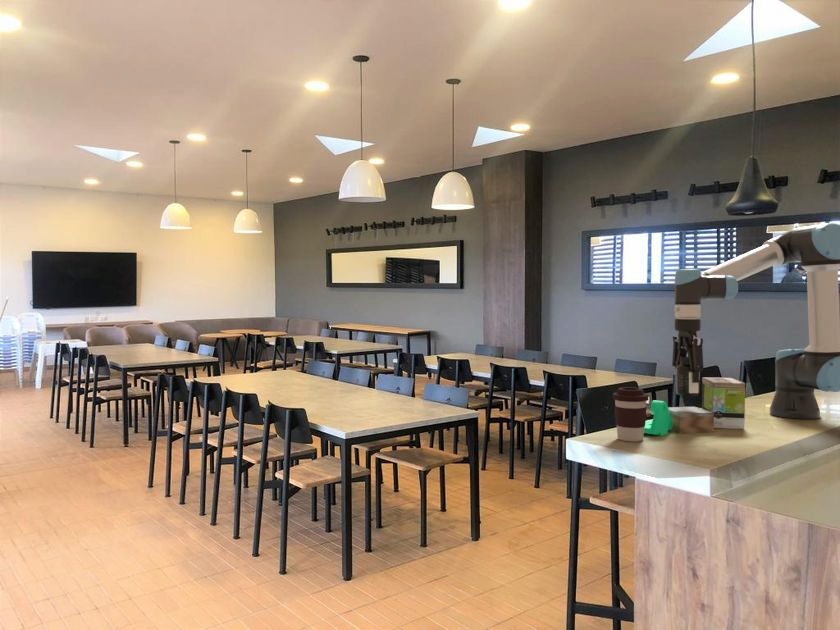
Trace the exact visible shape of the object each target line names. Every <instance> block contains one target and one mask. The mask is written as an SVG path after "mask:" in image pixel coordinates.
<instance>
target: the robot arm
mask: <svg viewBox="0 0 840 630" xmlns="http://www.w3.org/2000/svg"><path fill="white" fill-rule="evenodd" d="M798 262H799V263H800V265H801V269H803V270H804V271H805V272H806V282H807V283H806V285H807V287H806V288H807V290H806V291H807V312H808V313H807V315H808V316H807V317H808V318H807V319H808V342H809V343H808V345H807V346H806V347H805V348H794V349H792V348H791V349H789V348H788V349H779V350H777V352H776V354H775V361H774V362H775V363H774V364H775V366H774V367H775V392H774V395H773V398H772V401H771V403H770V407H769V415H772V416H775V417H780V418H785V419H798V420H812V419H819V418H820V417H821V410H820V408H819V404H818V401H817V399H816V395H815V390H817V391H818V390H819V391H822V392H833V393H840V297H839V296H840V295H839V292H840V291H839V270H840V224H838V223H833V222H831V223H830V222H829V223H827V222H826V223H825V222H824V223H823V222H822V223H818V224H811V225H807V226H798V227H794V228H792V229H789V230H788V231H785V232H783V233H781V234H779V235H777V236H775V237H772V238H770V239H769V240H765V241H763V244H762V246H759V247H757V248H755V249H752V250H750V251H747V252H746V253H743V254H740V255H737V256H736V257H733V258H732V259H729V260H727V261H725V262H722V263H720V264H718V265H716V266H713V267H711V268H709V269H706V270H704V271H701V269H698V268H685V269H683V268H681V269H677V270H676V271H675V275H674V309H673V311H674V317H675V319H674V330H675V331H676V332H678V333H677V335H673V337H672V341H673V343H672V344H673V345H672V347H673V348H672V362H671V365H672V367H674V368H675V369H676V368H677V366H678V365H679V364H680V356H688V358H689V364H690V369H691V370H689V393H698V382H699V372H700V373H701V371H704V354H703V353H704V351H703V343H704V339H703V338H699V337H698V334H697V333H698V332H700V331H701V319H700V318H701V314H702V310H701V309H702V308H701V306H702V305H701V303H702V301H701V300H724V301H725V300H730V299H734V298H735V297H736V296H737V294H738V291H739V282H738V281H741V280H743V279H746V278H748V277H750V276H752V275H755V274H757V273H759V272H762V271H764V270H766V269H768V268H771V267H774V268H778V267H781V266H783V265H787V264H792V263H798Z"/></svg>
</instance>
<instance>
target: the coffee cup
mask: <svg viewBox="0 0 840 630" xmlns="http://www.w3.org/2000/svg"><path fill="white" fill-rule="evenodd" d="M612 400H614V403H615V404H614V415H615V416H614V417H615V418H614V419H615V426H616V433H617V439H618V440H619V441H623V442H631V443H634V442H635V443H636V442H642V441H644V437H645V435H644V434H645V433H644V427H645V422H646V421H647V419H646V418H647V416H646V415H647V406H646V405H647V401H649V394H648V393H645V391H644V390H643V388H639V387H632V386H625V387H619V388H617V390H616V392H612Z"/></svg>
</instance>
